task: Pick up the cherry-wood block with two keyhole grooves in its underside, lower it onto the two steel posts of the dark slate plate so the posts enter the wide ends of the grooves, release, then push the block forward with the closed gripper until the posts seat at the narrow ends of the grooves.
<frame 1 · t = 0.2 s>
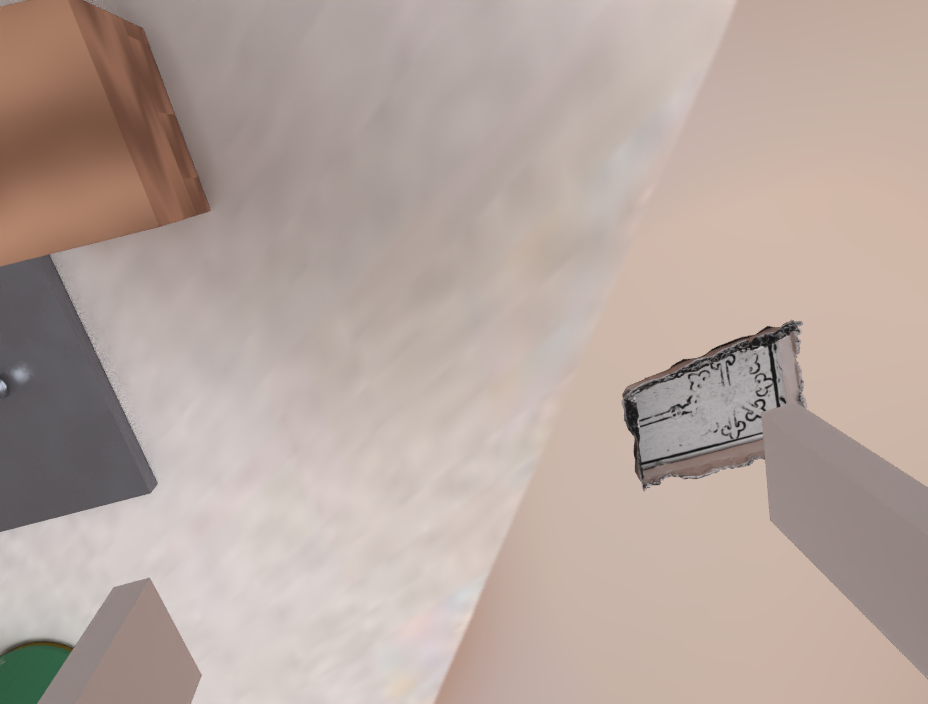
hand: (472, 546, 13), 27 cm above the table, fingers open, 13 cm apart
keyhole block: (110, 141, 34), on the table
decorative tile: (702, 398, 44), on the table
beverage can: (50, 676, 46), on the table
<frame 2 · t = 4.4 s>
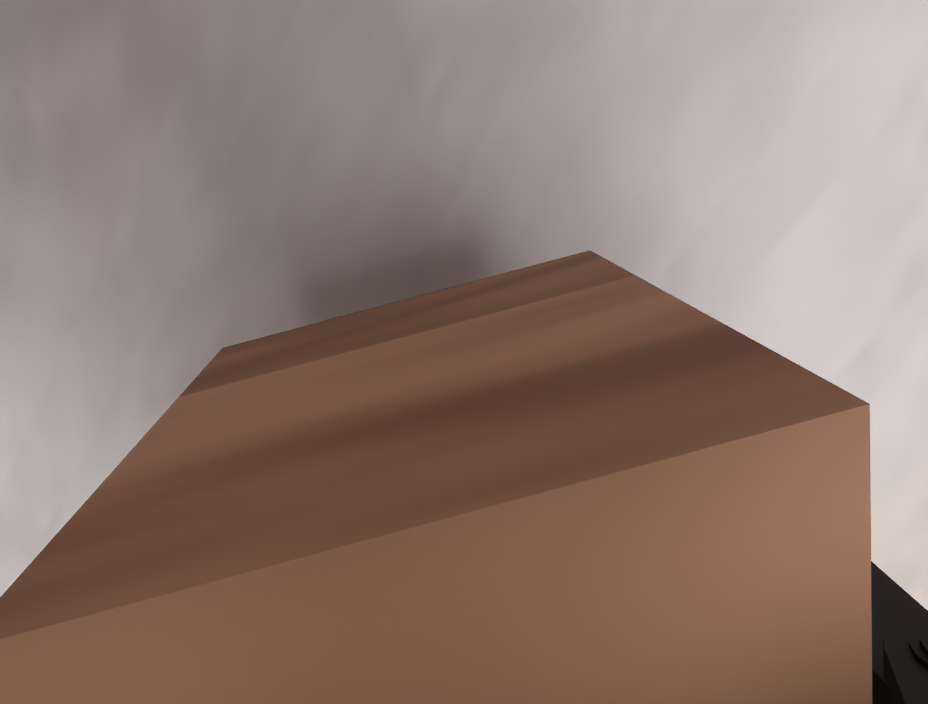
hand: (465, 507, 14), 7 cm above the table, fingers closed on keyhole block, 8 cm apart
keyhole block: (463, 495, 14), point 6 cm above the table, touching gripper
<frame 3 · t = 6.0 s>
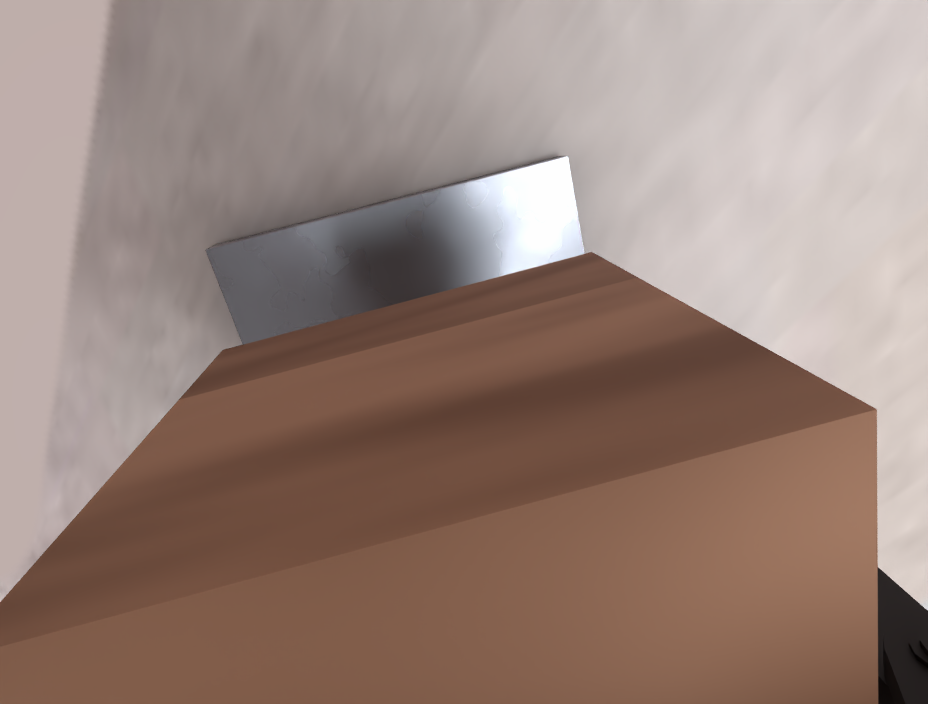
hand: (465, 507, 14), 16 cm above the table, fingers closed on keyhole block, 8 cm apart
keyhole block: (464, 498, 14), point 15 cm above the table, touching gripper
boss plate: (435, 371, 30), on the table
when the fingers open (2 cm above the table, at t = 8.1 s): keyhole block stays where it is, resting on boss plate.
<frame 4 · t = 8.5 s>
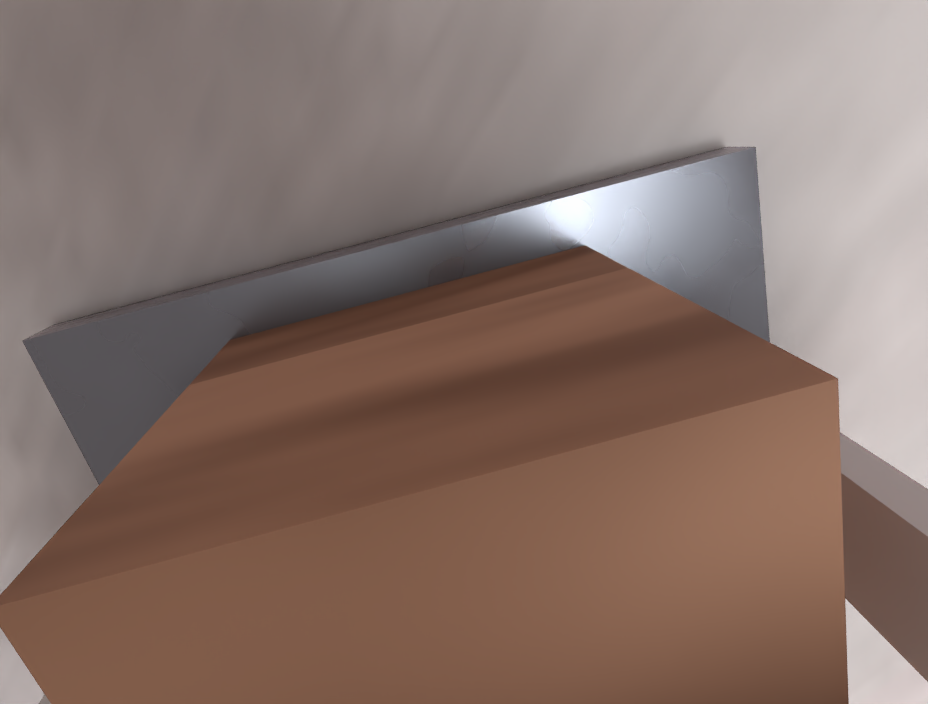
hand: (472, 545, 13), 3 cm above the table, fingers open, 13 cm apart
keyhole block: (463, 484, 15), point 1 cm above the table, touching boss plate
boss plate: (478, 533, 17), on the table
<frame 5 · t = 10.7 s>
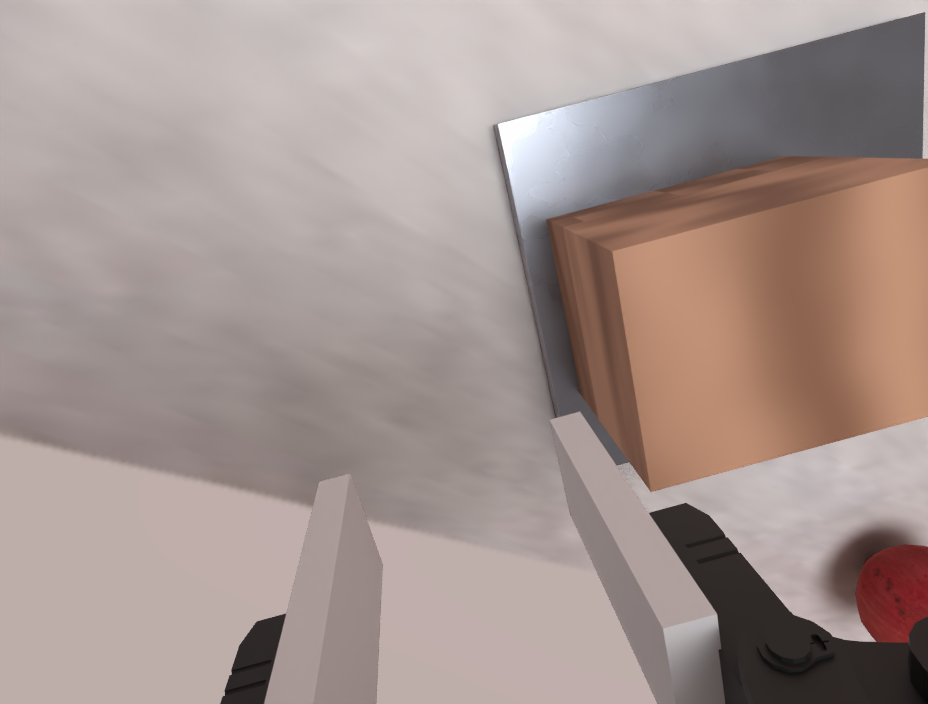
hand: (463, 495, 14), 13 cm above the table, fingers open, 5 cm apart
keyhole block: (677, 281, 25), point 1 cm above the table, touching boss plate
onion: (868, 557, 33), on the table
boss plate: (717, 263, 27), on the table
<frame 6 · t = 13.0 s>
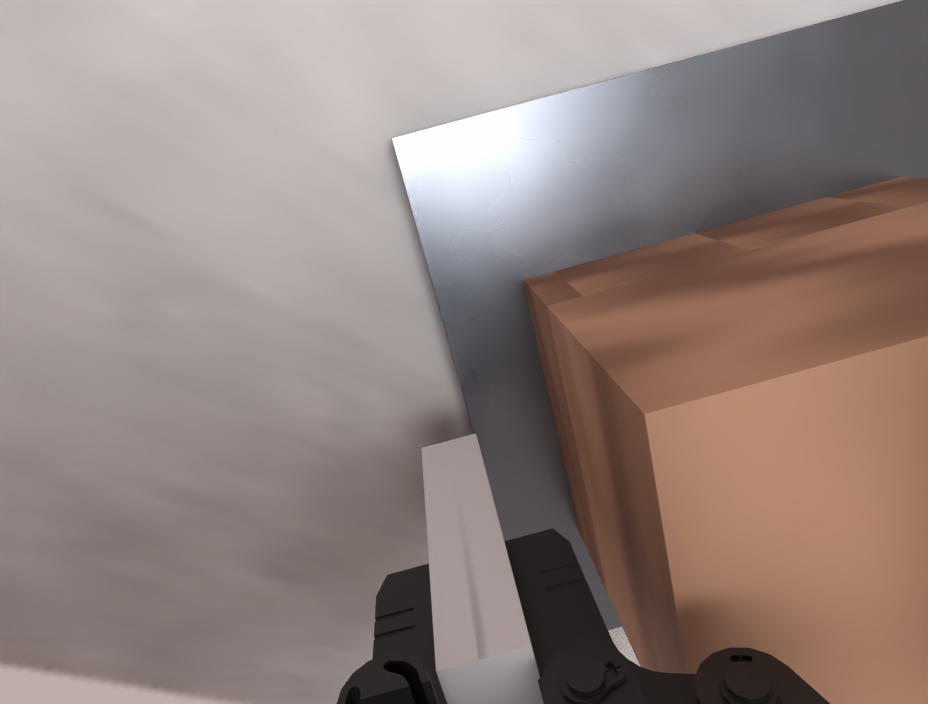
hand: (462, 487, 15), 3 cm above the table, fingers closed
keyhole block: (727, 369, 17), point 1 cm above the table, touching gripper
boss plate: (747, 342, 18), on the table
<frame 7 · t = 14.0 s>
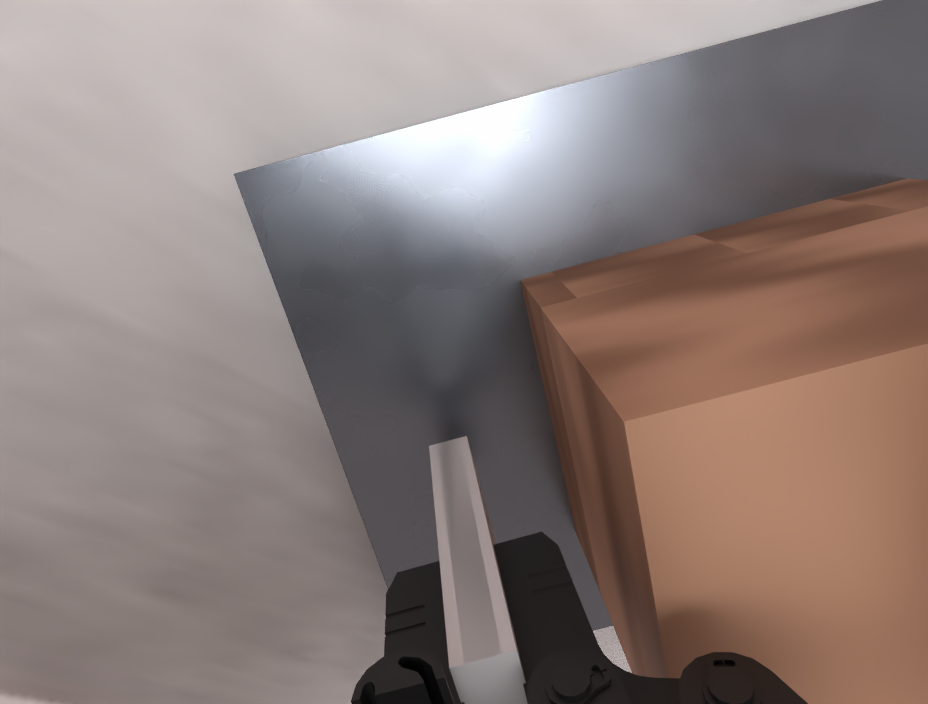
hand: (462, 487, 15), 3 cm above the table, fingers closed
keyhole block: (727, 371, 16), point 1 cm above the table, touching boss plate, gripper
boss plate: (626, 372, 17), on the table
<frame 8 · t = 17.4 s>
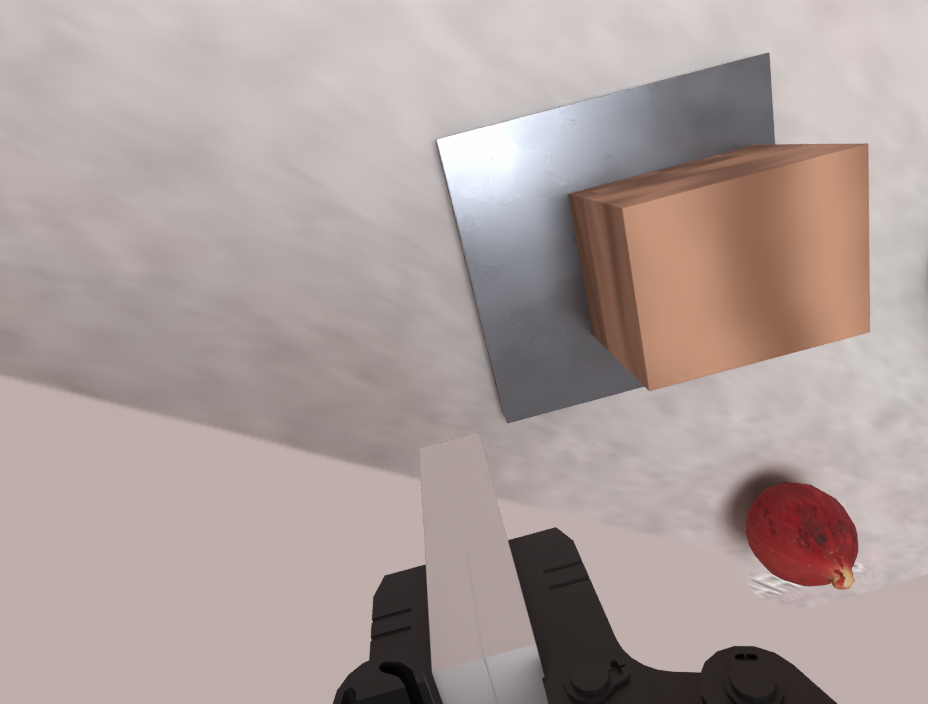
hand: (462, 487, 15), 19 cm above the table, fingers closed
keyhole block: (670, 244, 32), point 1 cm above the table, touching boss plate
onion: (762, 497, 40), on the table
boss plate: (619, 249, 33), on the table
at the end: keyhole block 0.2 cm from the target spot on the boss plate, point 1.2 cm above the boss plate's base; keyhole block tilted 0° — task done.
